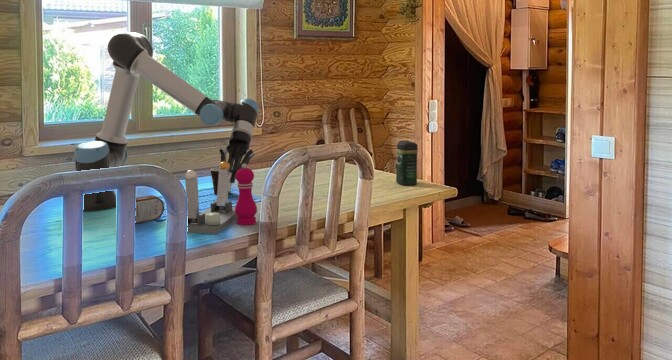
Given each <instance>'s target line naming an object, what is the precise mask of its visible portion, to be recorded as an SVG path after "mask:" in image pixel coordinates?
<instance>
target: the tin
mask: <svg viewBox="0 0 672 360" xmlns="http://www.w3.org/2000/svg"><path fill="white" fill-rule="evenodd" d="M135 198H136V208H135V211H136V216H135V221H136V223H137V224H142V223H147V222H151V221H152V222H153V221H156V219H157V220H159V219H160V218H161V217H162V215H163V214H164V212H165V203H164V201H163V200H162V199H161V198H160V197H158V196H156V195H146V196H141V197H140V196H139V197H135Z"/></svg>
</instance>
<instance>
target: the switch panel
mask: <svg viewBox="0 0 672 360" xmlns="http://www.w3.org/2000/svg"><path fill="white" fill-rule="evenodd" d="M216 203H217V200H214V201H213V202H211V203H210V207H208V208H206V209H205V210H204V211H202V212H201V213H200V212H199V215H198V216H197V223H188V226H187V227H188V233H190V234H205V235H206V234H209V235H212V234H213V235H218V234H219V233H220V232H221V231H223V230H224V229H225V228H226V227H228V226H229V225H230V224H232V223H233V222H235V221H237V218H238V216H237V215H236V213H235V207H234V206H233V201H227V203H226V204H225V211H219V210H216V206H219V205H216ZM207 213H219V214H220V224H218V225H206V214H207Z"/></svg>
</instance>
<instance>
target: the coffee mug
mask: <svg viewBox="0 0 672 360" xmlns="http://www.w3.org/2000/svg"><path fill="white" fill-rule="evenodd" d="M231 173H232V171H231ZM210 176H211V181H212V188H213V193H214V195H215V196H217V190H218V177H219V166H218V167H212V168H210ZM231 191H232V188H231V189H230V192H228V195H230V194H231V193H232V192H231Z"/></svg>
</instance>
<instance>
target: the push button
mask: <svg viewBox="0 0 672 360" xmlns="http://www.w3.org/2000/svg"><path fill="white" fill-rule="evenodd" d="M218 224H220V214H219V213H207V214H206V225H218Z"/></svg>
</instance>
